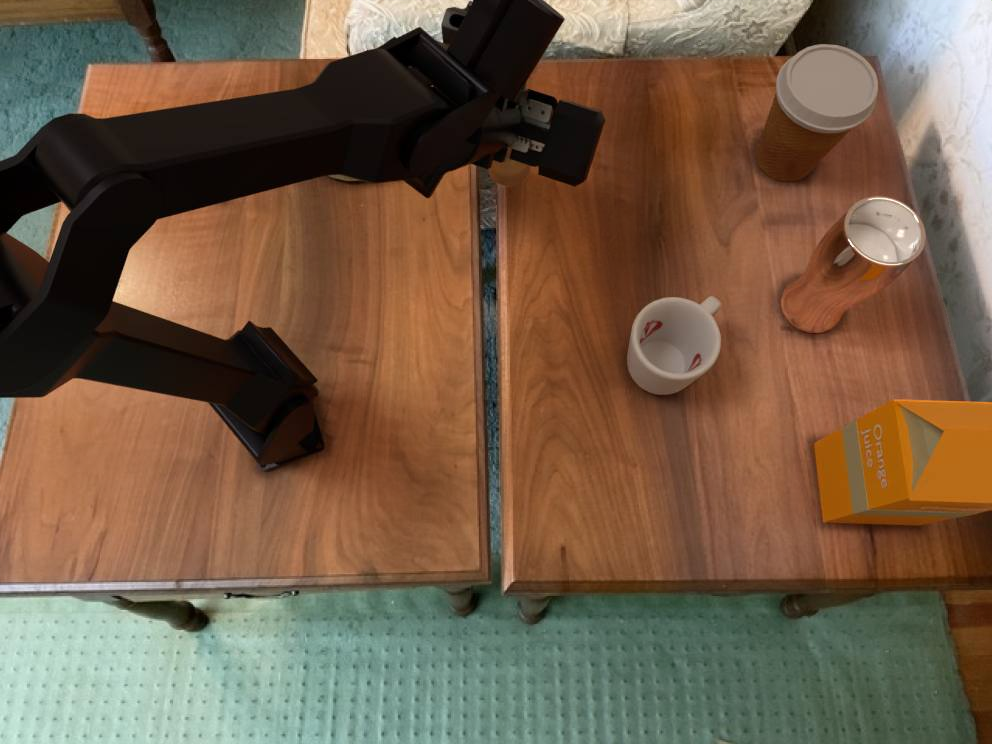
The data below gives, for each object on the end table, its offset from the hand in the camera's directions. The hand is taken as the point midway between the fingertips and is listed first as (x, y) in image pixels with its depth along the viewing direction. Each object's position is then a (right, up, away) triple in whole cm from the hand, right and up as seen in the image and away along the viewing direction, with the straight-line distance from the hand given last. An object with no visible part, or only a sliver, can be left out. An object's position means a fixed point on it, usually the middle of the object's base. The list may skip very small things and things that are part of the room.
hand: (514, 112), depth 67 cm
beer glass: (+30, -18, +5) cm, 36 cm away
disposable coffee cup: (+30, -1, +11) cm, 32 cm away
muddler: (0, -4, +6) cm, 7 cm away
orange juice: (+33, -35, -1) cm, 48 cm away
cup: (+15, -23, +3) cm, 28 cm away
